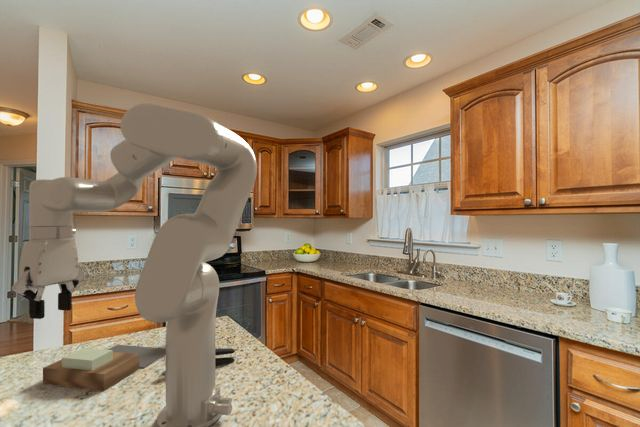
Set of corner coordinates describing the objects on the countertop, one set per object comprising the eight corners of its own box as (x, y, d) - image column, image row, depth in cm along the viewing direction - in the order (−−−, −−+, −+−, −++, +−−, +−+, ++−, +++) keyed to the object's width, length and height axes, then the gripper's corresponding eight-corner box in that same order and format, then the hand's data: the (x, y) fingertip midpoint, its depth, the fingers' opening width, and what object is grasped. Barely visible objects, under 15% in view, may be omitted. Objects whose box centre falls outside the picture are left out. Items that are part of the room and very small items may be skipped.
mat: (172, 350, 97) (172, 349, 97) (143, 368, 85) (144, 367, 85) (117, 345, 101) (117, 344, 101) (82, 362, 89) (82, 361, 89)
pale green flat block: (112, 359, 82) (112, 350, 82) (92, 370, 76) (92, 360, 76) (84, 356, 84) (84, 347, 84) (61, 367, 78) (61, 357, 78)
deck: (139, 369, 85) (139, 354, 85) (104, 391, 74) (104, 374, 74) (84, 363, 88) (84, 349, 88) (42, 383, 78) (42, 367, 78)
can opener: (166, 381, 79) (166, 359, 79) (166, 369, 85) (166, 348, 85) (237, 366, 86) (237, 346, 86) (233, 356, 93) (233, 337, 93)
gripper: (74, 232, 81) (74, 303, 80) (-7, 236, 64) (-8, 325, 64) (98, 232, 79) (98, 304, 79) (22, 236, 62) (22, 328, 62)
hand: (51, 313), depth 71 cm, fingers open, 5 cm apart
